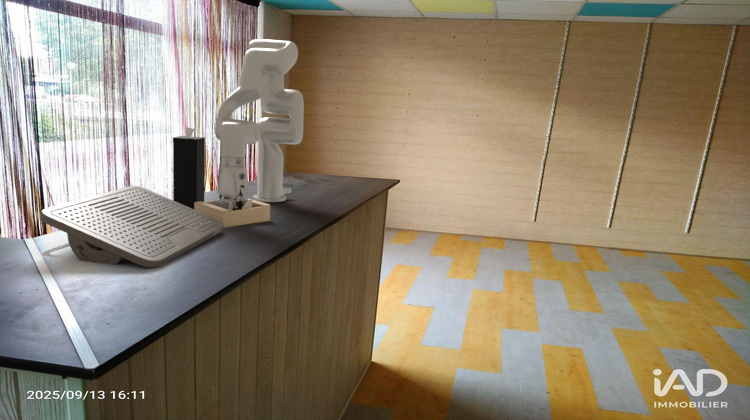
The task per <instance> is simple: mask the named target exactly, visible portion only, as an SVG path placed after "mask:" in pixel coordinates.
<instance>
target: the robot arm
mask: <svg viewBox="0 0 750 420" xmlns="http://www.w3.org/2000/svg"><path fill="white" fill-rule="evenodd" d="M298 57H299V49H298V46H297V45H296V43H295V42H293V41H290V40H283V39H282V40H279V39H268V38H266V39H265V38H258V39H257V38H255V39H252V40H251V41H250V42H249V44H248V50H246V52H245V54H244V57H243V61H242V66H241V69H240V70H241V71H240V76H239V81H238V86H237V87H236V89H235V90H233V92H232V93H230V94H229V95H228V96H226V98H225V100H224V101H222V103H221V105H220V106H219V109H218V112H217V114H216V115H217V117H216V120H215V127H214V133H215V137H216V138H217V139H218V141H220V143H219V144H220V145H219V146H220V150H219V170H218V178H217V190H216V194H217V196H218V197H219V200H222V199H230V198H232V199H233V203H234V208H233V211H234V210H241V209H242V208H243V207H244V204H245V203H246V202H247V201H248V197H249V182H248V181H249V179H248V171H247V167H246V165H245V164H246V145H253V144H256V143H257V145H258V146H257V147H258V150H257V151H258V153H257V154H258V156H257V183H256V185H257V187H256V188H257V190H256V191H257V193H256V194H253V195H252V200H256V201H259V202H263V203H281V202H286V200H287V196H286V194H291V193H292V188H290V187H289V188H285V187H283V183H284V181H283V180H284V178H283V176H284V153H283V149H282V148H281V147H280V146H279V144H283V145H299V144H300V143H302V141H303V136H304V117H305V116H304V112H305V110H304V109H305V107H304V105H305V102H304V97H303V94H302V92H301V91H299V90H297V89H291V88H285V80H284V79H285V78H284V77H285V76H284V75H286V74H287V73H288V72H289V71H290V70H291V69H292V68H293V67H294V65H296V63H297V60H298ZM258 100H260V107H261V108H260V109H261V110H262V111H263V112H264V113H267V114H270V115H271V114H272V115H282V116H288V117H289V118H284V117H283V118H282V117H273V116H265V117H262V118H260V119H259V120H258V121H257V122H256V121H252V120H247V119H246V120H245V119H243V120H242V119H233V118H231V116H232V115H233V113H234V112H235V111H236V110H238V108H240V107H242V106H245V105H247V104H250V103H253V102H256V101H258ZM238 197H239V198H238ZM237 200H239V202H238V203H237Z"/></svg>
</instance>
